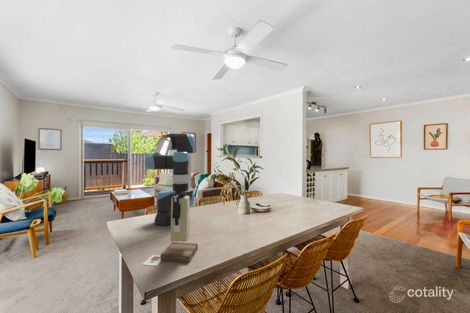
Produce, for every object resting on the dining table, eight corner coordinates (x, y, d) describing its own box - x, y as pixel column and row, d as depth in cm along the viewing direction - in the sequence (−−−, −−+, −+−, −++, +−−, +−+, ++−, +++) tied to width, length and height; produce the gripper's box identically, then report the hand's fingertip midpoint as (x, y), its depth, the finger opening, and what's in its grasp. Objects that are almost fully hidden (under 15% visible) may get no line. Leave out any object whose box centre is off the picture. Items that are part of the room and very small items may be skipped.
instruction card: (151, 255, 105) (151, 254, 105) (165, 256, 104) (165, 255, 104) (142, 265, 96) (142, 264, 96) (157, 266, 95) (157, 265, 95)
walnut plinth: (172, 247, 114) (172, 242, 114) (197, 249, 112) (197, 243, 112) (160, 260, 100) (160, 254, 100) (189, 262, 99) (189, 256, 98)
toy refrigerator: (189, 235, 110) (190, 195, 110) (187, 241, 103) (187, 198, 102) (174, 235, 110) (174, 195, 110) (170, 241, 103) (170, 198, 102)
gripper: (180, 180, 116) (180, 221, 116) (164, 185, 96) (164, 236, 96) (193, 180, 115) (193, 222, 116) (180, 186, 95) (180, 236, 96)
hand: (180, 228), depth 106 cm, fingers closed on toy refrigerator, 7 cm apart
